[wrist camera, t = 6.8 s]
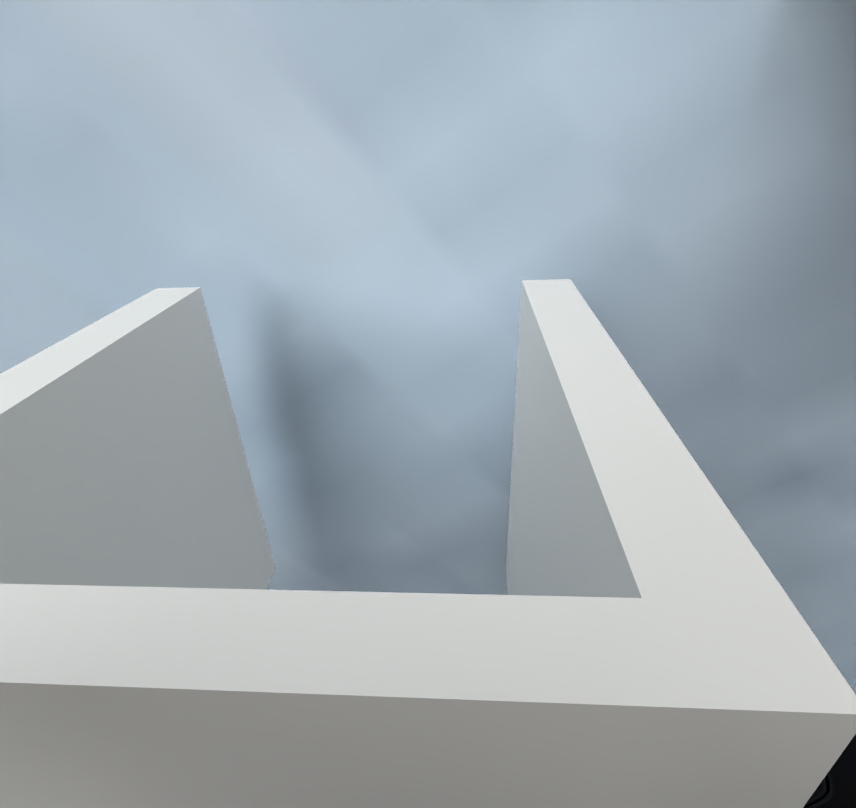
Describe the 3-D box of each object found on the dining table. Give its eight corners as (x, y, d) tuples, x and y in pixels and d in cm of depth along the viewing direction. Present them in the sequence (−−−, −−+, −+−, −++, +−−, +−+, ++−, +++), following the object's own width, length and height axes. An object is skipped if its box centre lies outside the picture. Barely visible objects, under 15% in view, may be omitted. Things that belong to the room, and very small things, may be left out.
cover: (539, 573, 12) (623, 1058, 6) (244, 567, 12) (29, 1006, 6) (570, 279, 8) (871, 717, 2) (156, 288, 9) (-527, 663, 3)
